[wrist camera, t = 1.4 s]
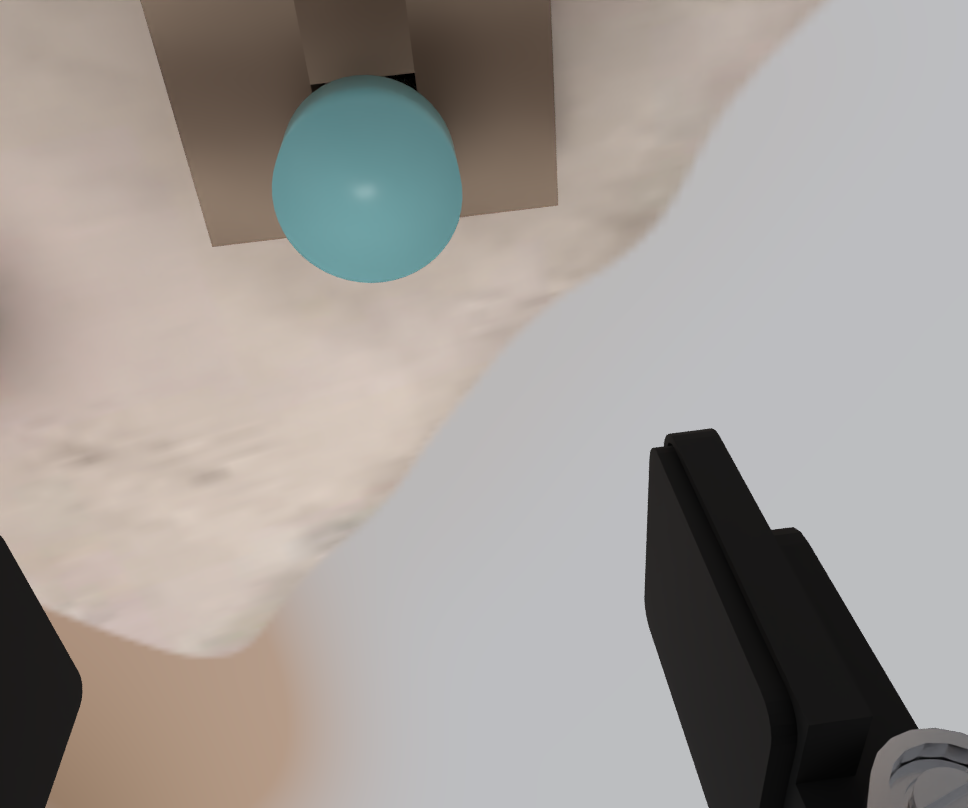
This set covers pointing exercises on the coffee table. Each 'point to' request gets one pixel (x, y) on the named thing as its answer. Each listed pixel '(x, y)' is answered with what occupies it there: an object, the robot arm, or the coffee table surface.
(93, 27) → the coffee table surface
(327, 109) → the teal knob
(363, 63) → the walnut mount
